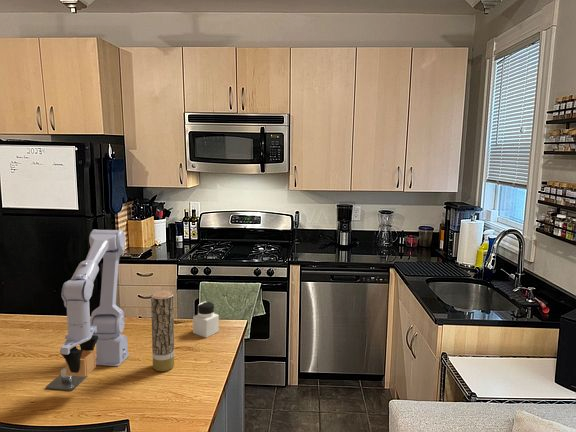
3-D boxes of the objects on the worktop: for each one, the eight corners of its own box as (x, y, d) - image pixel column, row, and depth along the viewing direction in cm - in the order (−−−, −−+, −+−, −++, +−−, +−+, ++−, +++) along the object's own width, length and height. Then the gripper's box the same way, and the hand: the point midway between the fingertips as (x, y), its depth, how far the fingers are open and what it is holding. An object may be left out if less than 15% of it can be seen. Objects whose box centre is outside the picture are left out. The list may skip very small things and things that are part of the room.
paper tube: (154, 374, 134) (152, 298, 130) (151, 364, 140) (150, 291, 137) (175, 370, 137) (174, 296, 133) (172, 360, 143) (171, 289, 139)
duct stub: (87, 376, 132) (86, 363, 131) (71, 390, 124) (71, 377, 123) (62, 374, 132) (62, 361, 132) (46, 388, 124) (45, 375, 124)
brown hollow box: (95, 366, 124) (95, 350, 123) (85, 376, 118) (84, 360, 118) (77, 365, 124) (76, 349, 124) (66, 375, 119) (65, 358, 118)
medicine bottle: (219, 331, 167) (219, 302, 165) (206, 338, 161) (206, 308, 159) (205, 327, 170) (205, 298, 169) (192, 333, 164) (192, 304, 163)
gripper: (80, 311, 127) (82, 353, 129) (48, 331, 112) (51, 378, 114) (102, 312, 126) (104, 355, 128) (74, 332, 112) (76, 380, 114)
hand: (81, 366), depth 121 cm, fingers closed on brown hollow box, 6 cm apart
